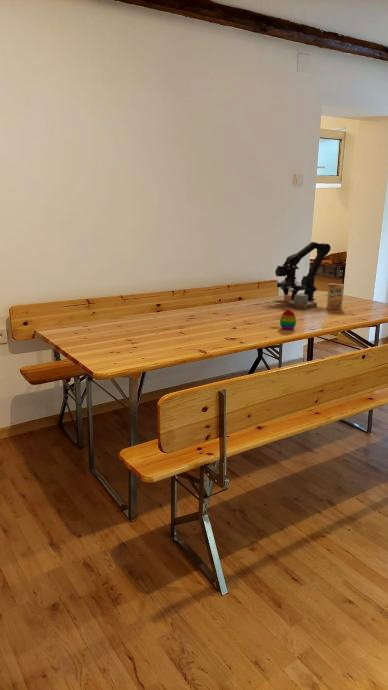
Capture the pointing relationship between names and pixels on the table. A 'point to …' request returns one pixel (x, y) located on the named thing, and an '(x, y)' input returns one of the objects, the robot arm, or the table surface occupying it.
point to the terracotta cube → (288, 297)
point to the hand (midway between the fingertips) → (289, 299)
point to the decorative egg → (288, 320)
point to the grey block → (301, 298)
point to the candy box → (335, 296)
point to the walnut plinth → (301, 305)
